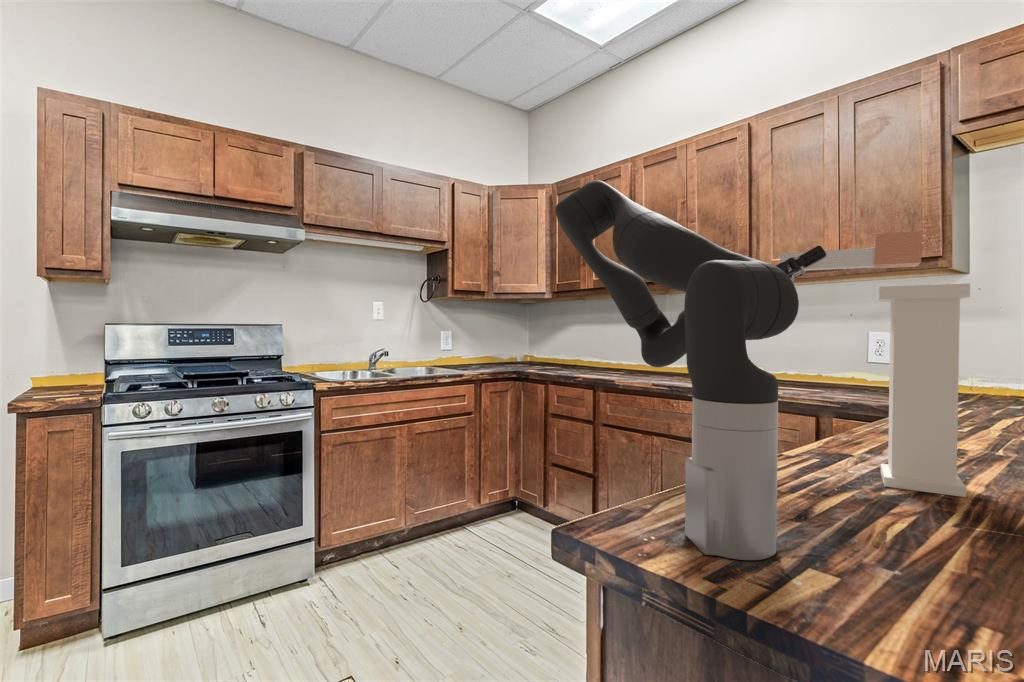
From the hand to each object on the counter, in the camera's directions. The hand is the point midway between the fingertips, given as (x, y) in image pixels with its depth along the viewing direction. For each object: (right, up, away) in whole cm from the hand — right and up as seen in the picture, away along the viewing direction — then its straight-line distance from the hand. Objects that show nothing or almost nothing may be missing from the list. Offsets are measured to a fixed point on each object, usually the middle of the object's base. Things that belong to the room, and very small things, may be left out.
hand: (823, 251), depth 91 cm
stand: (+11, -39, -6) cm, 41 cm away
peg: (+3, -3, -2) cm, 4 cm away
